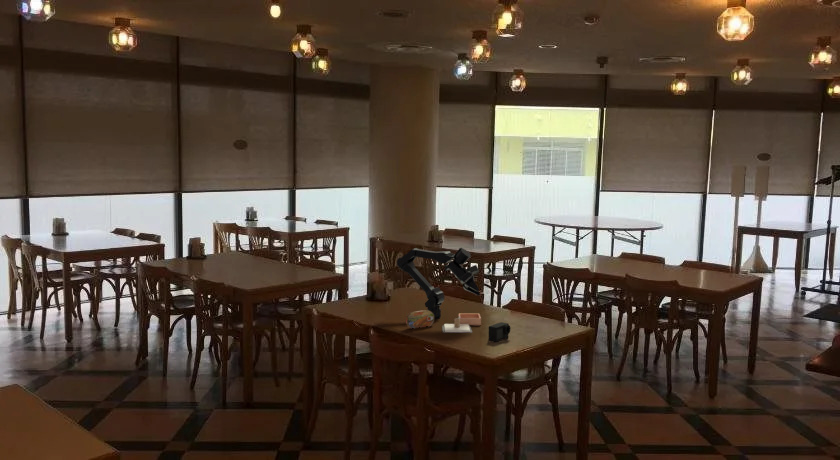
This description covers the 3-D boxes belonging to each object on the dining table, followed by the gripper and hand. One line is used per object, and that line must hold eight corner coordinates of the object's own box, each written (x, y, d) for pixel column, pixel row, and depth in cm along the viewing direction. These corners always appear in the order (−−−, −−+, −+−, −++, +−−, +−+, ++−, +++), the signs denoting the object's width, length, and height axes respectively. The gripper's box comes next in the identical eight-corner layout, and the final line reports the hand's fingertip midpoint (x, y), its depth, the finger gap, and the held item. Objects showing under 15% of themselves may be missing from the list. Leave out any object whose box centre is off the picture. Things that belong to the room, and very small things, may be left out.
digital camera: (498, 343, 325) (498, 327, 324) (488, 340, 329) (488, 326, 328) (510, 338, 333) (510, 323, 332) (500, 336, 336) (501, 321, 336)
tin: (407, 330, 348) (407, 313, 347) (404, 328, 351) (404, 311, 350) (434, 326, 355) (434, 309, 354) (431, 325, 357) (431, 308, 357)
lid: (445, 332, 342) (445, 321, 342) (444, 325, 354) (444, 316, 353) (470, 332, 342) (470, 321, 342) (468, 325, 354) (468, 316, 353)
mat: (442, 333, 342) (442, 332, 342) (442, 326, 355) (442, 325, 355) (472, 333, 342) (472, 332, 342) (470, 326, 355) (470, 325, 355)
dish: (459, 326, 355) (459, 318, 355) (458, 321, 366) (458, 313, 365) (480, 326, 355) (480, 318, 355) (479, 321, 366) (479, 313, 365)
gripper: (468, 255, 354) (490, 277, 350) (471, 265, 372) (491, 286, 367) (452, 270, 353) (473, 292, 348) (455, 279, 371) (475, 300, 366)
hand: (479, 292), depth 358 cm, fingers open, 9 cm apart
